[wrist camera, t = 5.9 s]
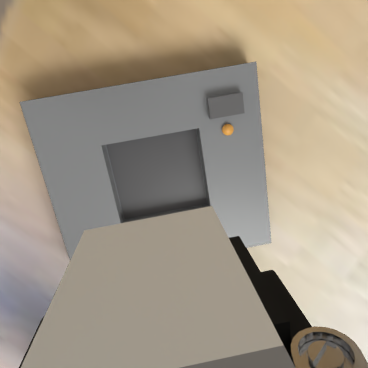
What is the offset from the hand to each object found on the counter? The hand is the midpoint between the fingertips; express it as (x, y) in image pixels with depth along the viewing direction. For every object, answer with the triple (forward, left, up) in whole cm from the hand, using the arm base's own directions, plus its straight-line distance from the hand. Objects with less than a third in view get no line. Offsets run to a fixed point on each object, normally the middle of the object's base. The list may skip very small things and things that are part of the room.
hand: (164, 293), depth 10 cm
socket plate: (0, 0, -15) cm, 15 cm away
